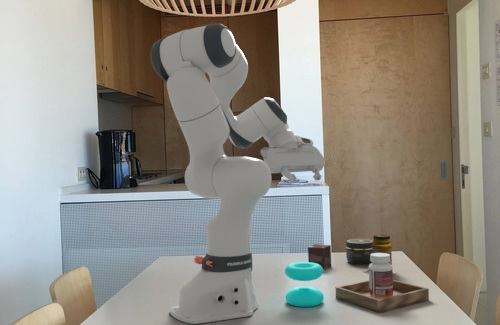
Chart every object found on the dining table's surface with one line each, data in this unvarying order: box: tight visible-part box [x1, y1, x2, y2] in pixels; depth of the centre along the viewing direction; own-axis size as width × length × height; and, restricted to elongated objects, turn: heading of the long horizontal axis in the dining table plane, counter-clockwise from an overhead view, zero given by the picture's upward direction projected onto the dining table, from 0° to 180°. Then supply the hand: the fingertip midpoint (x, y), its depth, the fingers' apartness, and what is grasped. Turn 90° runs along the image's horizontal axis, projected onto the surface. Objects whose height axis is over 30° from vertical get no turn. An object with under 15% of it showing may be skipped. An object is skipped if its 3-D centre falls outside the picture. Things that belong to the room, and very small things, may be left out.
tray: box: [335, 279, 430, 314], centre depth 140 cm, size 18×16×3 cm
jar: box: [345, 238, 373, 266], centre depth 186 cm, size 10×10×8 cm
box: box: [307, 243, 332, 270], centre depth 180 cm, size 6×6×7 cm
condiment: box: [363, 233, 398, 275], centre depth 170 cm, size 7×8×12 cm
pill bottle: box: [368, 253, 394, 299], centre depth 140 cm, size 6×6×11 cm
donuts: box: [284, 261, 325, 308], centre depth 139 cm, size 10×10×10 cm
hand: (306, 179), depth 156 cm, fingers open, 8 cm apart
